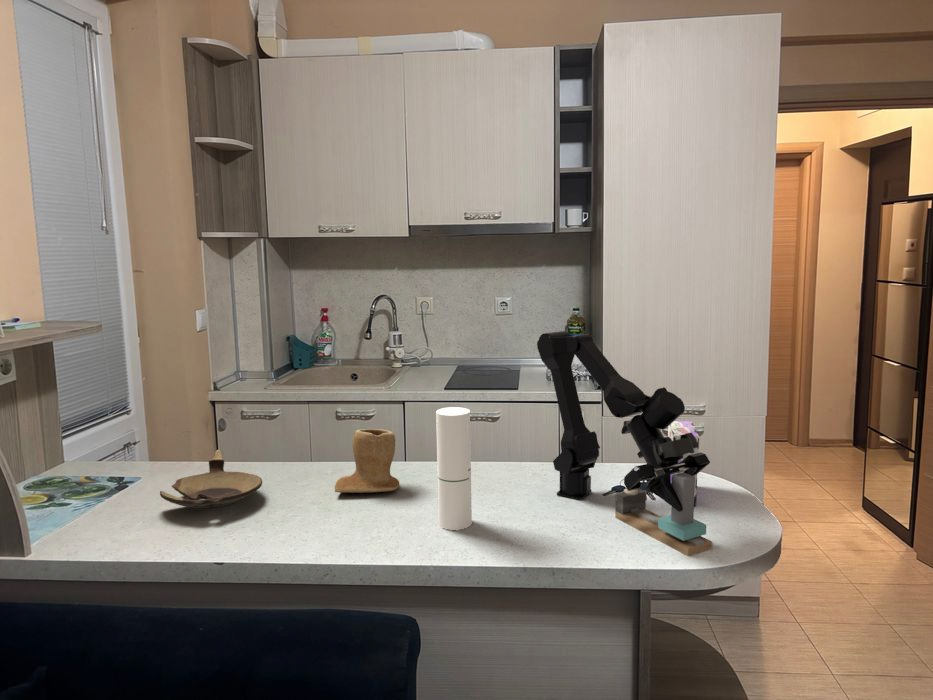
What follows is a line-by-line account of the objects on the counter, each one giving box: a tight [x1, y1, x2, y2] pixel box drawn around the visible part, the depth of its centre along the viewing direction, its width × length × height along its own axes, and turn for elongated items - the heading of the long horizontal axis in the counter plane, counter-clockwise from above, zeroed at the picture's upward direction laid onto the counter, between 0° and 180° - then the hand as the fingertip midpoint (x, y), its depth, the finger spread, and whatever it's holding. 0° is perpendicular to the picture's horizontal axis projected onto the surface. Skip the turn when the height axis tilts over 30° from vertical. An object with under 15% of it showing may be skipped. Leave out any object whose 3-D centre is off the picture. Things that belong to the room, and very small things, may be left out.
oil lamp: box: [159, 449, 263, 509], centre depth 170 cm, size 22×30×8 cm
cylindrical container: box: [435, 406, 473, 531], centre depth 152 cm, size 7×7×25 cm
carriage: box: [658, 473, 707, 541], centre depth 141 cm, size 7×6×12 cm
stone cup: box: [334, 428, 400, 494], centre depth 174 cm, size 15×12×15 cm
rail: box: [614, 488, 713, 557], centre depth 147 cm, size 22×6×6 cm, turn 28°
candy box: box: [667, 420, 700, 504], centre depth 167 cm, size 14×6×16 cm, turn 168°
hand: (687, 509), depth 140 cm, fingers closed on carriage, 3 cm apart
